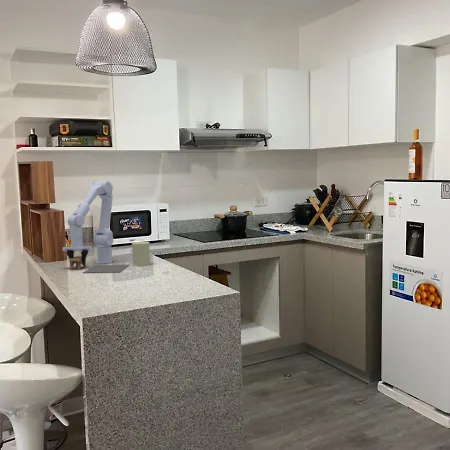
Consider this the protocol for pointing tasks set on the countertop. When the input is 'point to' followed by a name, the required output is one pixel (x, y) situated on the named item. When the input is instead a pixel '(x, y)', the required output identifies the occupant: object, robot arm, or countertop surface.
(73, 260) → the stool
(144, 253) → the can
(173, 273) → the countertop surface
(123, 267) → the mat
